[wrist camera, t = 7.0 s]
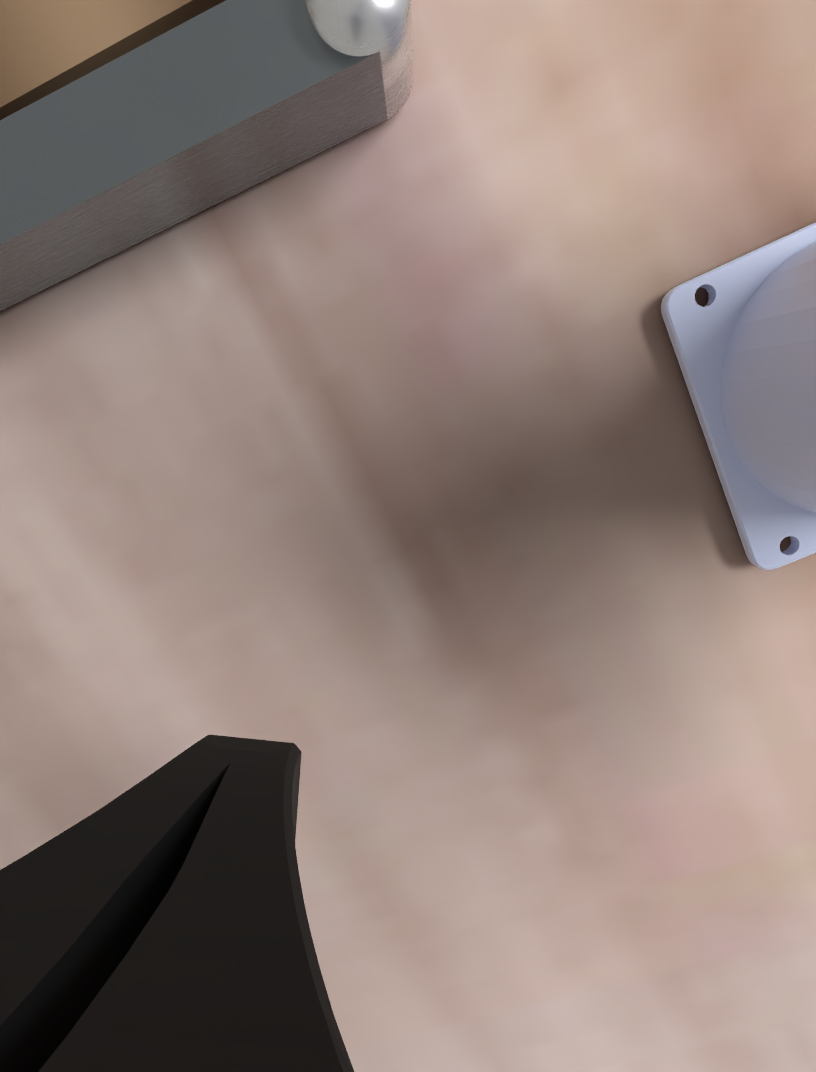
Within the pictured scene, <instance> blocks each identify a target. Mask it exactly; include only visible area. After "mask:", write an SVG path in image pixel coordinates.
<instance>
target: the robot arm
mask: <svg viewBox="0 0 816 1072" xmlns="http://www.w3.org/2000/svg"><path fill="white" fill-rule="evenodd" d="M699 287H702V288H704V289H706V290H707V292H708V293H709V300H708V302H707V305H705V306H704V307H702V306H700V305H698V304H697V302H696V301H695V293H696V290H697V289H698V288H699ZM661 313H662V317H663V320H664V323H665V325H666V328H667V331H668V334H669V337H670V340H671V342H672V345H673V348H674V351H675V354H676V357H677V360H678V362H679V365H680V368H681V371H682V374H683V377H684V379H685V382H686V385H687V388H688V391H689V394H690V396H691V399H692V402H693V405H694V408H695V411H696V414H697V416H698V419H699V422H700V425H701V428H702V431H703V433H704V436H705V439H706V442H707V445H708V448H709V450H710V453H711V456H712V459H713V462H714V465H715V468H716V470H717V473H718V476H719V479H720V482H721V485H722V487H723V490H724V493H725V496H726V499H727V502H728V504H729V507H730V510H731V513H732V516H733V519H734V521H735V524H736V527H737V530H738V533H739V536H740V539H741V541H742V544H743V547H744V550H745V553H746V556H747V558H748V559H749V561H750V563H752V564H753V565H755V566H756V567H759V568H761V569H764V570H773V569H777V568H779V567H782V566H784V565H787V564H789V563H792V562H794V561H797V560H799V559H802V558H804V557H806V556H809V555H811V554H814V553H816V222H815V223H813V224H811V225H809V226H806V227H804V228H802V229H800V230H798V231H796V232H793V233H791V234H789V235H787V236H785V237H782V238H780V239H778V240H776V241H774V242H772V243H769V244H767V245H765V246H763V247H761V248H759V249H756V250H754V251H752V252H750V253H748V254H746V255H743V256H741V257H739V258H737V259H735V260H733V261H730V262H728V263H726V264H724V265H722V266H720V267H717V268H715V269H713V270H711V271H709V272H707V273H704V274H702V275H700V276H698V277H696V278H694V279H691V280H689V281H687V282H685V283H683V284H680V285H678V286H676V287H674V288H673V289H671V290H670V291H668V292H667V293H666V295H665V296H664V298H663V300H662V304H661ZM788 536H789V537H790V538H791V544H790V546H789V548H788V549H786V550H785V551H780V543H781V541H782V540H783V539H784V538H785V537H788ZM300 764H301V751H300V750H299V748H298V747H297V746H296V745H295V744H294V743H286V742H276V741H266V740H256V739H246V738H236V737H227V736H217V735H208V736H206V737H205V738H203V739H201V740H200V741H198V742H197V743H195V744H194V745H192V746H191V747H190V748H188V749H187V750H185V751H184V752H182V753H181V754H180V755H178V756H177V757H175V758H174V759H172V760H171V761H170V762H168V763H167V764H165V765H164V766H163V767H161V768H160V769H158V770H157V771H155V772H154V773H153V774H151V775H150V776H148V777H147V778H145V779H144V780H142V781H141V782H139V783H138V784H136V785H135V786H134V787H132V788H131V789H129V790H128V791H126V792H125V793H123V794H122V795H120V796H119V797H117V798H116V799H114V800H113V801H111V802H110V803H109V804H107V805H106V806H104V807H103V808H101V809H100V810H98V811H97V812H95V813H93V814H92V815H90V816H88V817H87V818H85V819H84V820H82V821H80V822H79V823H77V824H76V825H74V826H72V827H71V828H69V829H67V830H66V831H64V832H63V833H61V834H59V835H58V836H56V837H54V838H53V839H51V840H50V841H48V842H46V843H45V844H43V845H42V846H40V847H38V848H37V849H35V850H33V851H32V852H30V853H29V854H27V855H25V856H24V857H22V858H20V859H19V860H17V861H15V862H13V863H12V864H10V865H8V866H6V867H5V868H3V869H1V870H0V1072H354V1070H353V1067H352V1065H351V1062H350V1059H349V1056H348V1053H347V1051H346V1048H345V1045H344V1042H343V1040H342V1037H341V1034H340V1031H339V1029H338V1026H337V1023H336V1020H335V1017H334V1014H333V1011H332V1008H331V1005H330V1001H329V998H328V994H327V991H326V988H325V984H324V981H323V978H322V974H321V971H320V967H319V964H318V960H317V956H316V952H315V948H314V944H313V940H312V937H311V932H310V928H309V924H308V919H307V915H306V910H305V905H304V900H303V894H302V889H301V883H300V877H299V871H298V865H297V857H296V850H295V835H296V820H297V806H298V792H299V778H300Z"/></svg>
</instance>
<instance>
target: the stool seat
mask: <svg viewBox="0 0 816 1072" xmlns="http://www.w3.org/2000/svg"><path fill="white" fill-rule="evenodd" d="M224 1H226V0H0V120H2V119H4V118H6V117H8V116H9V115H11V114H13V113H15V112H17V111H19V110H21V109H23V108H24V107H26V106H28V105H30V104H32V103H34V102H36V101H38V100H39V99H41V98H43V97H45V96H47V95H49V94H51V93H53V92H55V91H56V90H58V89H60V88H62V87H64V86H66V85H68V84H70V83H71V82H73V81H75V80H77V79H79V78H81V77H83V76H85V75H86V74H88V73H90V72H92V71H94V70H96V69H98V68H100V67H102V66H103V65H105V64H107V63H109V62H111V61H113V60H115V59H117V58H118V57H120V56H122V55H124V54H126V53H128V52H130V51H132V50H133V49H135V48H137V47H139V46H141V45H143V44H145V43H147V42H149V41H150V40H152V39H154V38H156V37H158V36H160V35H162V34H164V33H165V32H167V31H169V30H171V29H173V28H175V27H177V26H179V25H180V24H182V23H184V22H186V21H188V20H190V19H192V18H194V17H196V16H197V15H199V14H201V13H203V12H205V11H207V10H209V9H211V8H212V7H214V6H216V5H218V4H220V3H222V2H224Z"/></svg>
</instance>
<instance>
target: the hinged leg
mask: <svg viewBox="0 0 816 1072" xmlns="http://www.w3.org/2000/svg"><path fill="white" fill-rule="evenodd" d="M412 76H413V75H412V34H411V0H226V1H224V2H222V3H220V4H218V5H216V6H214V7H212V8H211V9H209V10H207V11H205V12H203V13H201V14H199V15H197V16H196V17H194V18H192V19H190V20H188V21H186V22H184V23H182V24H180V25H179V26H177V27H175V28H173V29H171V30H169V31H167V32H165V33H164V34H162V35H160V36H158V37H156V38H154V39H152V40H150V41H149V42H147V43H145V44H143V45H141V46H139V47H137V48H135V49H133V50H132V51H130V52H128V53H126V54H124V55H122V56H120V57H118V58H117V59H115V60H113V61H111V62H109V63H107V64H105V65H103V66H102V67H100V68H98V69H96V70H94V71H92V72H90V73H88V74H86V75H85V76H83V77H81V78H79V79H77V80H75V81H73V82H71V83H70V84H68V85H66V86H64V87H62V88H60V89H58V90H56V91H55V92H53V93H51V94H49V95H47V96H45V97H43V98H41V99H39V100H38V101H36V102H34V103H32V104H30V105H28V106H26V107H24V108H23V109H21V110H19V111H17V112H15V113H13V114H11V115H9V116H8V117H6V118H4V119H2V120H0V311H2V310H4V309H6V308H8V307H10V306H12V305H14V304H16V303H18V302H20V301H22V300H24V299H26V298H28V297H30V296H32V295H34V294H36V293H38V292H40V291H42V290H44V289H46V288H48V287H50V286H52V285H54V284H56V283H58V282H60V281H62V280H64V279H66V278H68V277H70V276H72V275H74V274H76V273H78V272H80V271H82V270H84V269H86V268H88V267H90V266H92V265H94V264H96V263H98V262H100V261H103V260H105V259H107V258H109V257H111V256H113V255H115V254H117V253H119V252H121V251H123V250H125V249H127V248H129V247H131V246H133V245H135V244H137V243H139V242H141V241H143V240H145V239H147V238H149V237H151V236H153V235H155V234H157V233H159V232H161V231H163V230H165V229H167V228H169V227H171V226H173V225H175V224H177V223H179V222H181V221H183V220H185V219H187V218H189V217H191V216H193V215H195V214H197V213H199V212H201V211H203V210H205V209H207V208H209V207H211V206H213V205H216V204H218V203H220V202H222V201H224V200H226V199H228V198H230V197H232V196H234V195H236V194H238V193H240V192H242V191H244V190H246V189H248V188H250V187H252V186H254V185H256V184H258V183H260V182H262V181H264V180H266V179H268V178H270V177H272V176H274V175H276V174H278V173H280V172H282V171H284V170H286V169H288V168H290V167H292V166H294V165H296V164H298V163H300V162H302V161H304V160H306V159H308V158H310V157H312V156H314V155H316V154H318V153H320V152H322V151H324V150H327V149H329V148H331V147H333V146H335V145H337V144H339V143H341V142H343V141H345V140H347V139H349V138H351V137H353V136H355V135H357V134H359V133H361V132H363V131H365V130H367V129H369V128H371V127H373V126H375V125H377V124H379V123H381V122H383V121H385V120H387V119H389V118H391V117H392V116H394V115H395V114H396V113H397V112H398V111H399V110H400V109H401V108H402V107H403V105H404V104H405V102H406V100H407V98H408V96H409V94H410V90H411V86H412Z"/></svg>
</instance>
